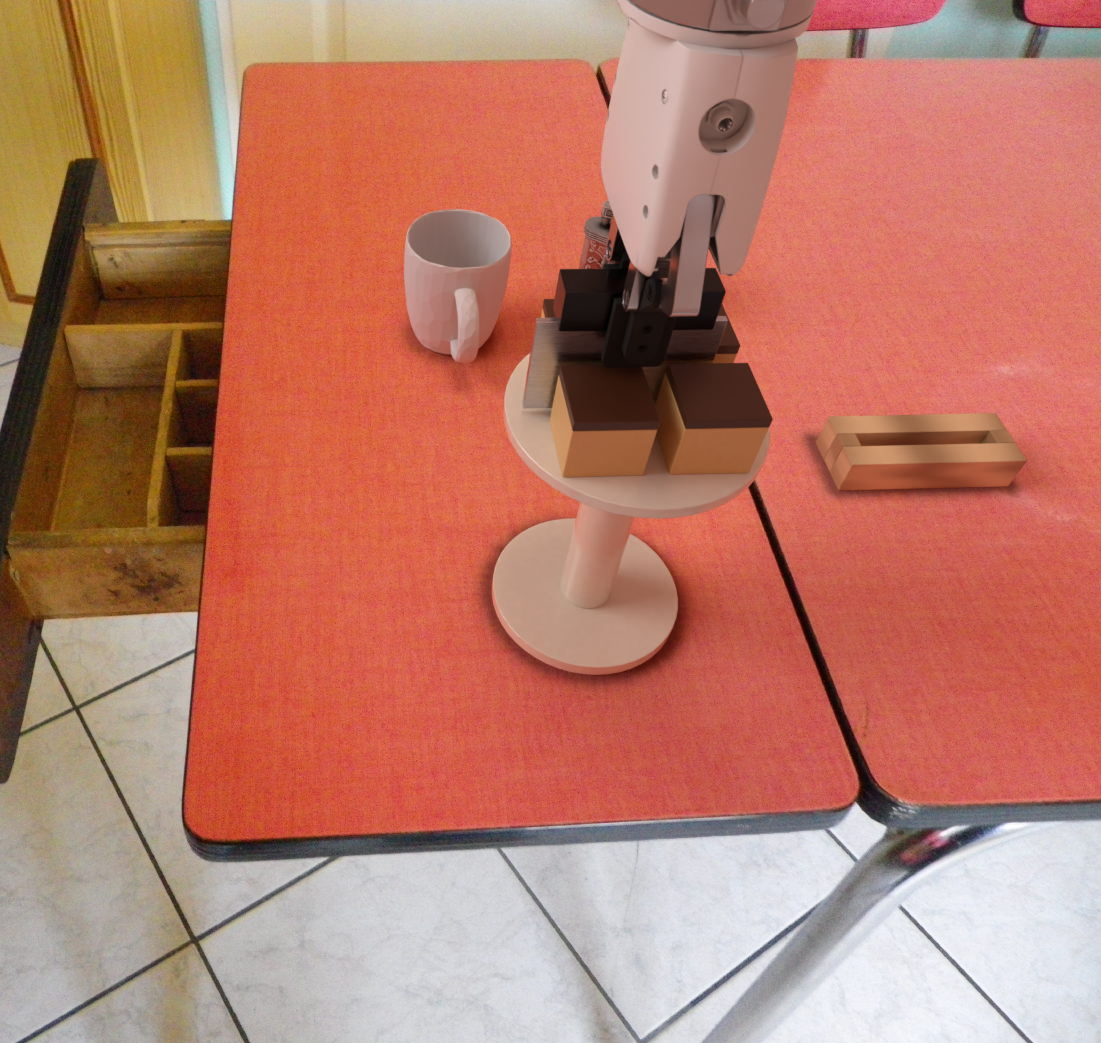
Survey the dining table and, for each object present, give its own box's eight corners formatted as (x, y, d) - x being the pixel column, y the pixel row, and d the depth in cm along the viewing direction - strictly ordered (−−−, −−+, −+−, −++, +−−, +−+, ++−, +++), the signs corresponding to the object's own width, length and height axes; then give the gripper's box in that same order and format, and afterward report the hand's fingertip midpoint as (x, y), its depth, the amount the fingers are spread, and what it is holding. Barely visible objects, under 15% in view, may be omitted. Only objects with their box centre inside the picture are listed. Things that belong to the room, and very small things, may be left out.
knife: (692, 391, 55) (735, 267, 48) (701, 415, 53) (746, 291, 47) (519, 394, 54) (539, 268, 48) (524, 418, 53) (545, 292, 46)
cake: (700, 350, 58) (719, 296, 55) (749, 473, 51) (773, 419, 48) (534, 353, 57) (543, 298, 54) (562, 477, 51) (574, 423, 48)
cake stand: (724, 581, 69) (811, 395, 55) (626, 729, 61) (699, 555, 47) (547, 487, 75) (586, 297, 61) (436, 611, 67) (452, 425, 53)
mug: (397, 305, 89) (399, 209, 82) (491, 301, 90) (502, 205, 82) (412, 397, 81) (417, 300, 73) (516, 391, 82) (531, 295, 74)
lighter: (567, 300, 90) (585, 205, 83) (577, 280, 92) (595, 186, 85) (651, 322, 89) (677, 227, 81) (659, 302, 91) (685, 207, 83)
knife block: (978, 439, 80) (996, 412, 77) (1008, 486, 76) (1027, 460, 74) (815, 442, 79) (828, 415, 77) (837, 490, 75) (852, 464, 73)
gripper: (896, 61, 32) (736, 452, 46) (757, -101, 42) (660, 258, 56) (674, 60, 31) (581, 455, 45) (588, -104, 42) (534, 259, 56)
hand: (625, 344), depth 50 cm, fingers closed on knife, 2 cm apart
